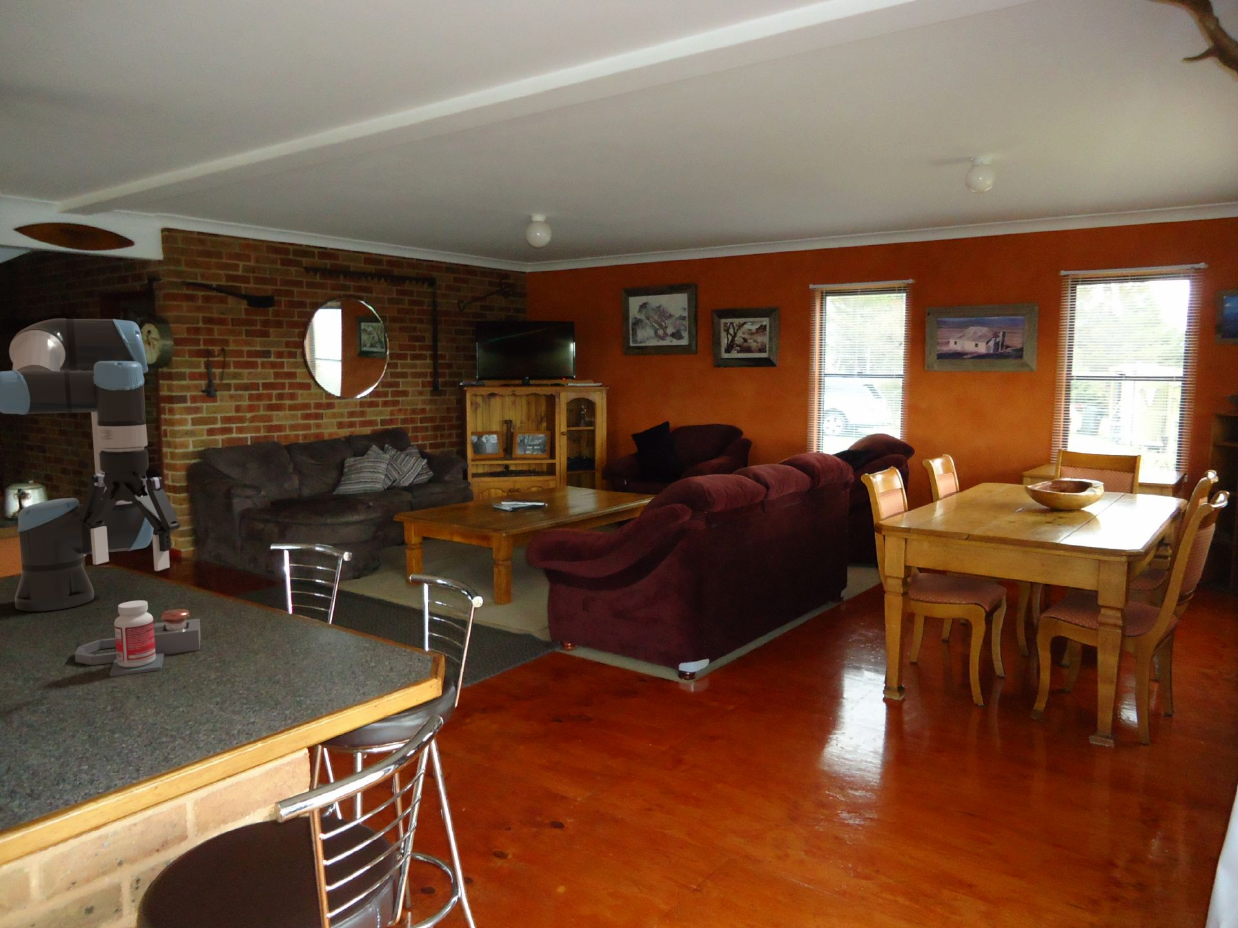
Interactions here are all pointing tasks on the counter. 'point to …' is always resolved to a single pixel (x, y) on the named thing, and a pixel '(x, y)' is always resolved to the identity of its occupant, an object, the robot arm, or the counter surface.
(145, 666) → the mat
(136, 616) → the pill bottle
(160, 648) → the housing
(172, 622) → the plunger
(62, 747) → the counter surface
